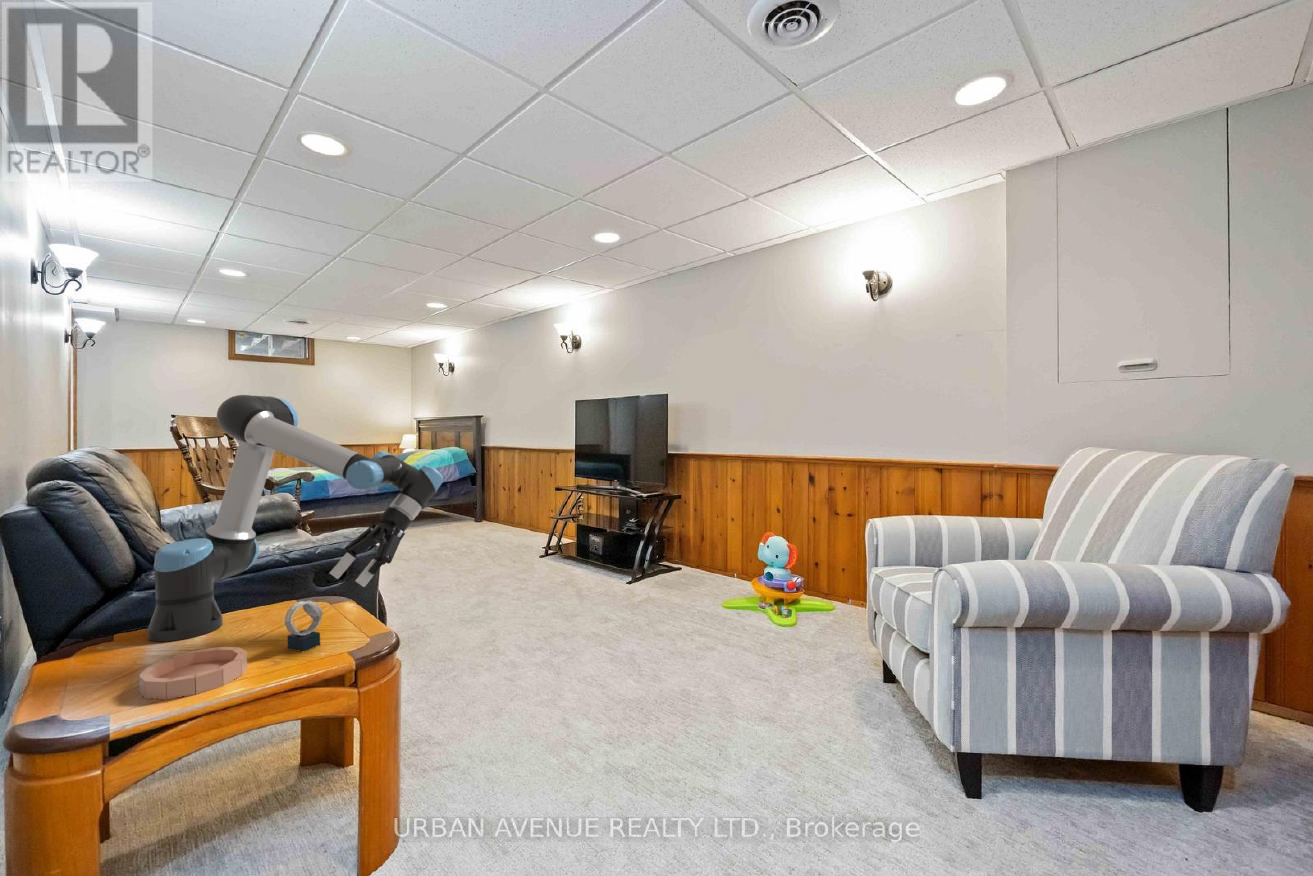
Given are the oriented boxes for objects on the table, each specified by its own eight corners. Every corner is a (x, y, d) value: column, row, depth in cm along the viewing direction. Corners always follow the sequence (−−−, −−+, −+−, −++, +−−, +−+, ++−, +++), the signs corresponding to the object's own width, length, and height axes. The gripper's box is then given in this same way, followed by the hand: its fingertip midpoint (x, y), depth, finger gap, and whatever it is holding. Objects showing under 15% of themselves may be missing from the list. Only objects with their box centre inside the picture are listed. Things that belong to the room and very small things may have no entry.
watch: (327, 642, 137) (326, 598, 137) (295, 654, 129) (294, 608, 129) (312, 639, 139) (311, 596, 139) (280, 651, 132) (278, 605, 131)
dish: (131, 684, 115) (130, 667, 115) (229, 656, 129) (229, 641, 129) (154, 707, 105) (154, 689, 105) (258, 674, 119) (257, 658, 119)
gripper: (435, 526, 149) (382, 595, 137) (386, 518, 163) (334, 580, 151) (416, 509, 145) (360, 579, 133) (367, 502, 159) (312, 565, 147)
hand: (346, 580), depth 142 cm, fingers open, 13 cm apart
